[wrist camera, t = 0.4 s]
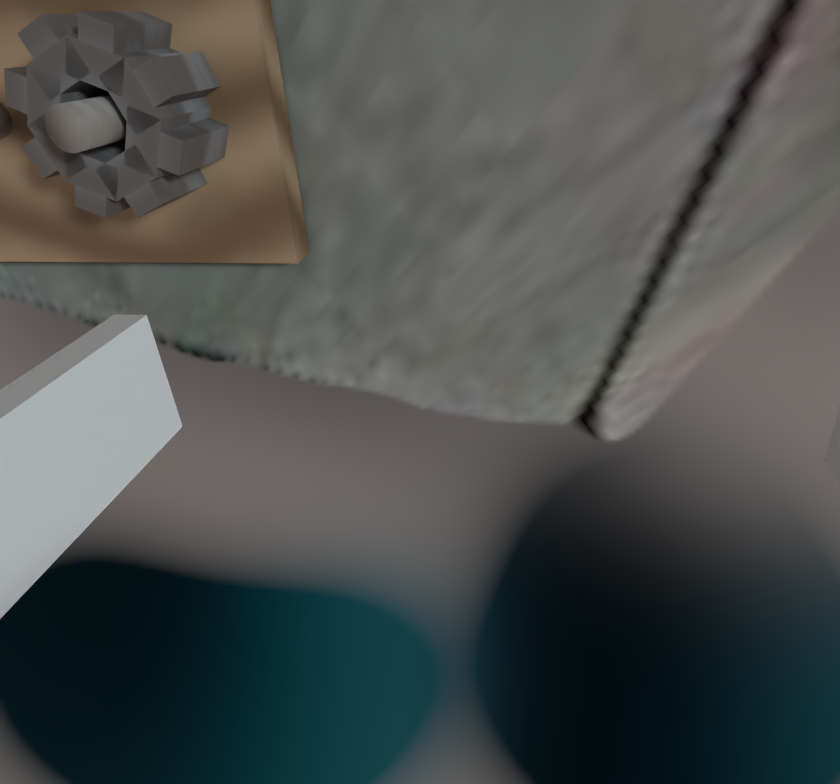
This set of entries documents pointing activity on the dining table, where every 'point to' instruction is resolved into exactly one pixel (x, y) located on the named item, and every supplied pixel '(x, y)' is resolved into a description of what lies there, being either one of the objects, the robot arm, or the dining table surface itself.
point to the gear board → (185, 223)
